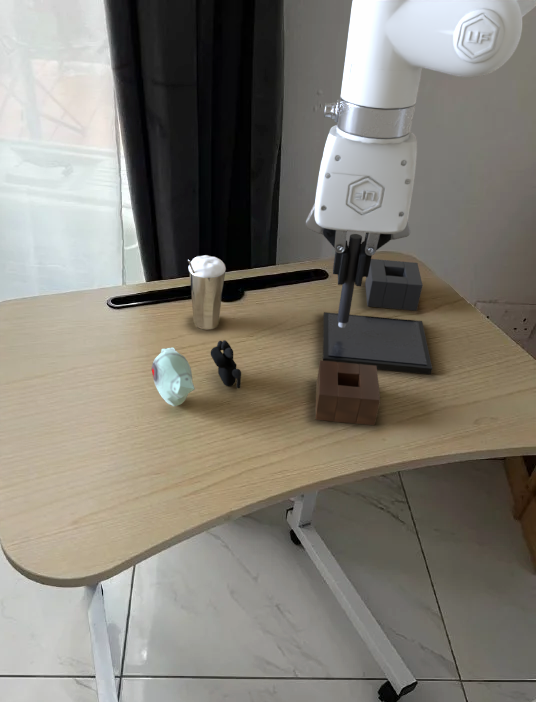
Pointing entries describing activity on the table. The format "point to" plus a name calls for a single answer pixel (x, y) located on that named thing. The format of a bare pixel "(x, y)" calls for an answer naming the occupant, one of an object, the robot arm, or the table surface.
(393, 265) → the dock
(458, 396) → the table surface
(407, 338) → the tablet
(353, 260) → the stylus
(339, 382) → the pen stand
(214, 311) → the milkshake
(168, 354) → the robot head
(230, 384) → the wireless earbuds
